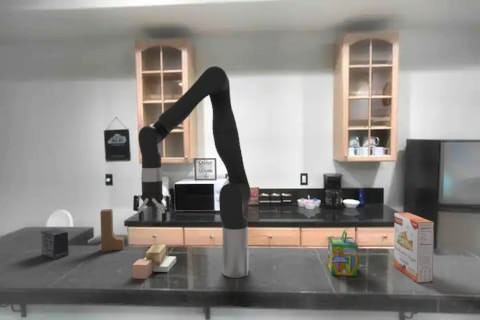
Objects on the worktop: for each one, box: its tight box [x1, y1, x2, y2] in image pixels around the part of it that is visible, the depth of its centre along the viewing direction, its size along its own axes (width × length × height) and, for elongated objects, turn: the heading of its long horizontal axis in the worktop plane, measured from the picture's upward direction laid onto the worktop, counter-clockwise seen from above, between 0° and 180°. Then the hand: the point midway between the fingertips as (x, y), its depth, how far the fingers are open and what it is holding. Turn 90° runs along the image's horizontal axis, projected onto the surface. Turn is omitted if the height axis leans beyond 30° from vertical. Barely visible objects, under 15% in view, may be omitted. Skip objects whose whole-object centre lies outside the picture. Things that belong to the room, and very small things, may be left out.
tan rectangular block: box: [145, 243, 167, 266], centre depth 115 cm, size 5×9×5 cm, turn 179°
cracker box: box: [393, 212, 435, 283], centre depth 107 cm, size 14×6×21 cm, turn 3°
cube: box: [132, 258, 153, 280], centre depth 108 cm, size 5×5×5 cm
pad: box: [143, 255, 177, 273], centre depth 116 cm, size 12×11×2 cm
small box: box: [40, 228, 70, 260], centre depth 128 cm, size 11×6×10 cm, turn 58°
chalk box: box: [327, 230, 359, 277], centre depth 110 cm, size 9×9×15 cm
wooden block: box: [99, 208, 125, 252], centre depth 135 cm, size 9×4×18 cm, turn 106°
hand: (152, 222), depth 113 cm, fingers open, 8 cm apart
